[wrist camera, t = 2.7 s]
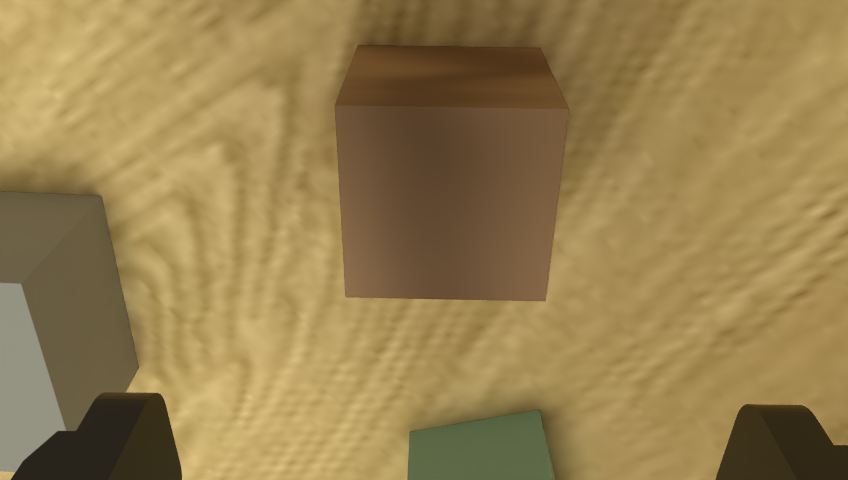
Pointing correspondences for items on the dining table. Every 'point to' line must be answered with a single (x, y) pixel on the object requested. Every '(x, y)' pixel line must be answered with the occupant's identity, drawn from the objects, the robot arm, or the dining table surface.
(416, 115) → the walnut cube
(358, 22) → the dining table surface
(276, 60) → the dining table surface
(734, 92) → the dining table surface
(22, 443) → the grey base block
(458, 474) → the teal cube
